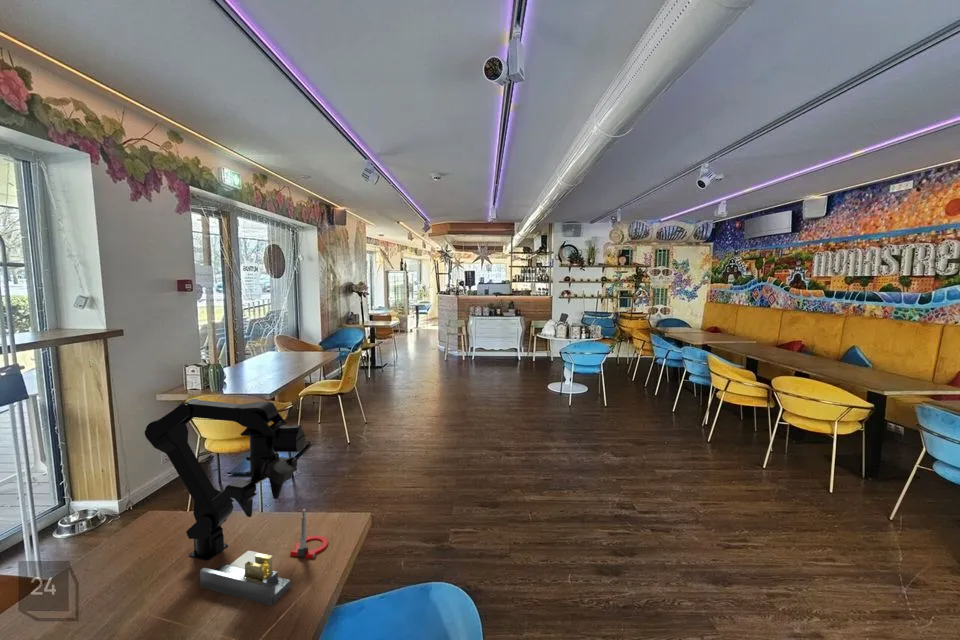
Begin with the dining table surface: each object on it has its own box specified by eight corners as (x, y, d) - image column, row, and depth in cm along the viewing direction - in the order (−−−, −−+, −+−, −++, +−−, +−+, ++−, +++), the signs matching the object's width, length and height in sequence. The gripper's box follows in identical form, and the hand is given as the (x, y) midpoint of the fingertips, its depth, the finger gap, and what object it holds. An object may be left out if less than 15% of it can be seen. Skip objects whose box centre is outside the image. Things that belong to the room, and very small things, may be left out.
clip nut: (245, 584, 93) (244, 564, 93) (258, 572, 97) (258, 553, 97) (259, 588, 92) (259, 567, 92) (272, 576, 96) (272, 556, 96)
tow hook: (306, 537, 115) (286, 557, 106) (307, 493, 115) (287, 509, 106) (333, 541, 114) (315, 561, 105) (335, 496, 114) (317, 512, 104)
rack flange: (200, 588, 94) (200, 570, 94) (222, 571, 100) (222, 554, 100) (271, 606, 89) (271, 587, 89) (290, 587, 95) (290, 569, 95)
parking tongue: (229, 566, 102) (229, 564, 102) (248, 551, 108) (248, 550, 108) (255, 572, 100) (255, 571, 100) (273, 557, 106) (273, 555, 106)
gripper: (260, 469, 95) (261, 532, 96) (311, 441, 113) (311, 494, 114) (222, 463, 97) (223, 525, 99) (278, 437, 116) (279, 489, 117)
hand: (263, 507), depth 107 cm, fingers open, 9 cm apart
